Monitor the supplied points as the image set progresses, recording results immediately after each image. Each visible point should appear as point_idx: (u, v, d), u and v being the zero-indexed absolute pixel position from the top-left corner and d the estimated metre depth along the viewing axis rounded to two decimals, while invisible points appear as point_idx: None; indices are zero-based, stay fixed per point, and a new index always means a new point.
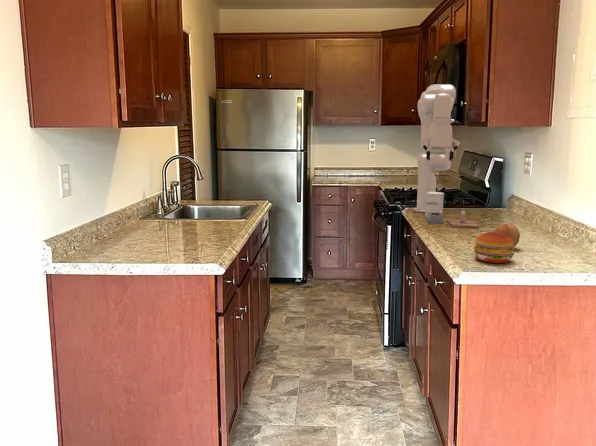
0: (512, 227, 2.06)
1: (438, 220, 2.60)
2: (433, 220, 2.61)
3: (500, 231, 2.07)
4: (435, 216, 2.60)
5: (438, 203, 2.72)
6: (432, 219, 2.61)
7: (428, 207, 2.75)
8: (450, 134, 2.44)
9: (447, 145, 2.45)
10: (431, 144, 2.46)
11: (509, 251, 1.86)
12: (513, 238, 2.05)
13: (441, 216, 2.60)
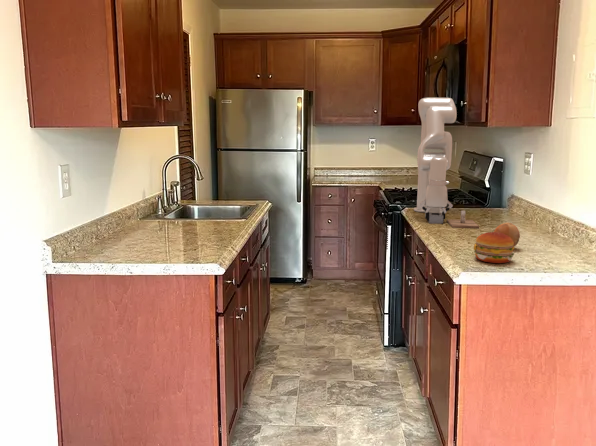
0: (512, 227, 2.06)
1: (438, 220, 2.60)
2: (433, 220, 2.61)
3: (500, 230, 2.07)
4: (435, 216, 2.60)
5: None
6: (432, 219, 2.61)
7: None
8: (445, 195, 2.60)
9: (442, 205, 2.61)
10: (427, 204, 2.62)
11: (509, 251, 1.86)
12: (513, 238, 2.05)
13: (441, 216, 2.60)
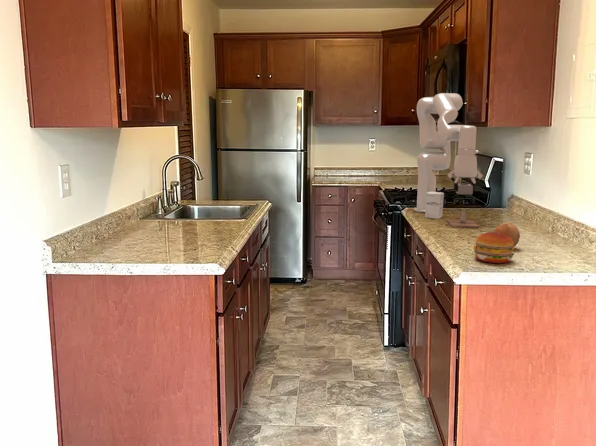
0: (512, 227, 2.06)
1: (467, 191, 2.51)
2: (462, 191, 2.52)
3: (500, 230, 2.07)
4: (464, 186, 2.51)
5: (438, 203, 2.72)
6: (461, 190, 2.52)
7: (428, 207, 2.75)
8: (475, 165, 2.51)
9: (472, 175, 2.52)
10: (456, 174, 2.53)
11: (509, 251, 1.86)
12: (513, 238, 2.05)
13: (471, 186, 2.51)
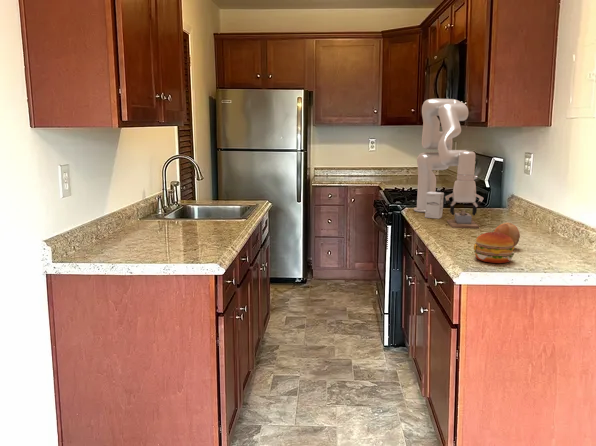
0: (512, 227, 2.06)
1: (466, 221, 2.54)
2: (460, 221, 2.54)
3: (500, 231, 2.07)
4: (463, 216, 2.54)
5: (438, 203, 2.72)
6: (460, 220, 2.54)
7: (428, 207, 2.75)
8: (474, 190, 2.53)
9: (471, 201, 2.54)
10: (455, 199, 2.55)
11: (509, 251, 1.86)
12: (513, 238, 2.05)
13: (469, 216, 2.53)
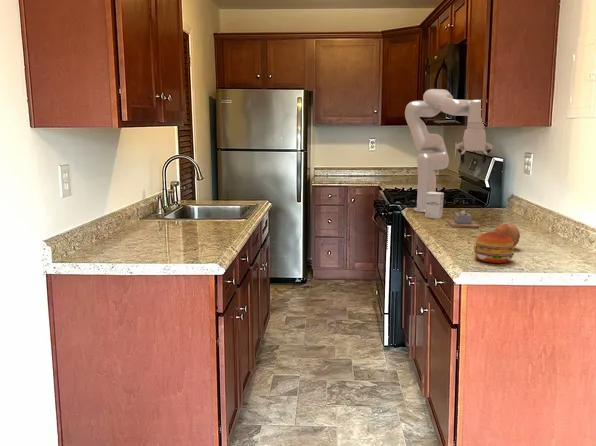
0: (512, 227, 2.06)
1: (466, 221, 2.54)
2: (460, 221, 2.54)
3: (500, 231, 2.07)
4: (463, 216, 2.54)
5: (438, 203, 2.72)
6: (460, 220, 2.54)
7: (428, 207, 2.75)
8: (484, 138, 2.59)
9: (481, 148, 2.60)
10: (465, 147, 2.61)
11: (509, 251, 1.86)
12: (513, 238, 2.05)
13: (469, 216, 2.53)
